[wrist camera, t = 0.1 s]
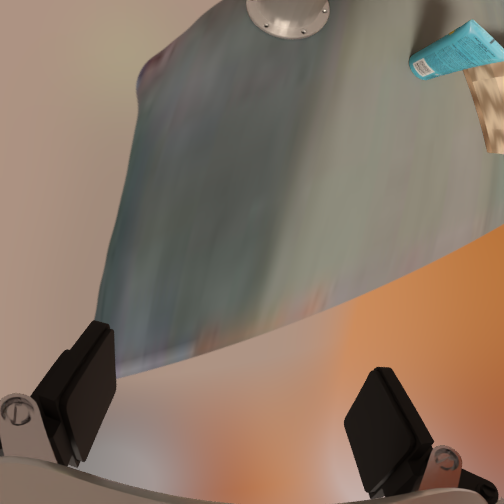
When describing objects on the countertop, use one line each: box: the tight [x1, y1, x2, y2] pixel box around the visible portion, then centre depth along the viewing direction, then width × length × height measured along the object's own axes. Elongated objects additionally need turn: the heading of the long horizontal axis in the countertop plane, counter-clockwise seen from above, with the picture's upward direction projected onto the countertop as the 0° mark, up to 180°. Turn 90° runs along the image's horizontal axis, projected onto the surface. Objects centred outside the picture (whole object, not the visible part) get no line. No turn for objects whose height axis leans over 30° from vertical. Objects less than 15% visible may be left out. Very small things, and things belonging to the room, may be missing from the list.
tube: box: [409, 19, 504, 80], centre depth 30 cm, size 7×5×19 cm, turn 72°
